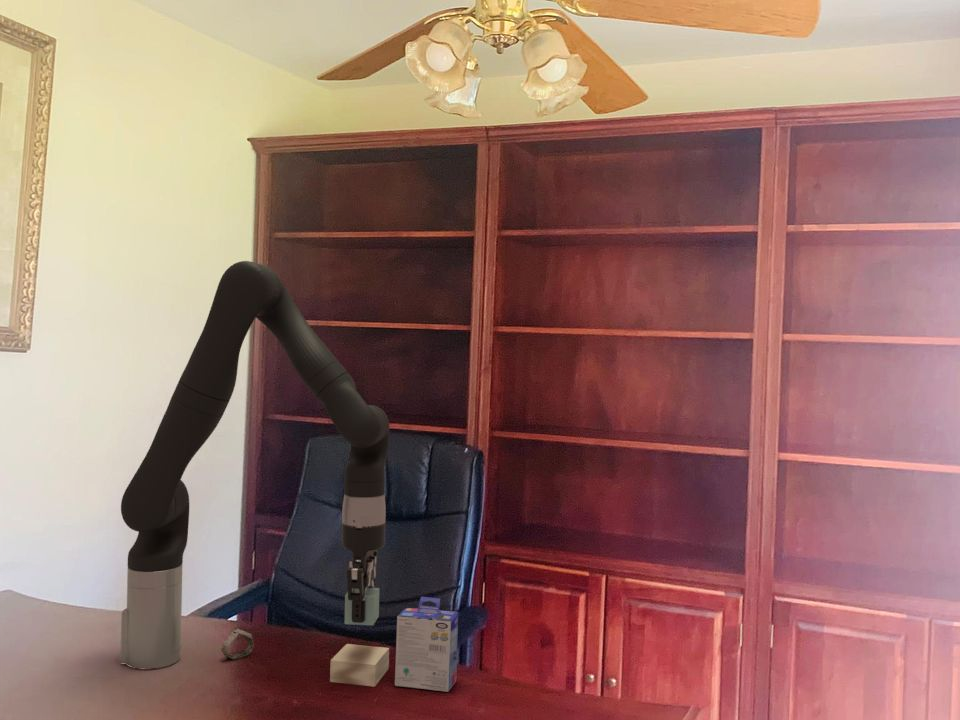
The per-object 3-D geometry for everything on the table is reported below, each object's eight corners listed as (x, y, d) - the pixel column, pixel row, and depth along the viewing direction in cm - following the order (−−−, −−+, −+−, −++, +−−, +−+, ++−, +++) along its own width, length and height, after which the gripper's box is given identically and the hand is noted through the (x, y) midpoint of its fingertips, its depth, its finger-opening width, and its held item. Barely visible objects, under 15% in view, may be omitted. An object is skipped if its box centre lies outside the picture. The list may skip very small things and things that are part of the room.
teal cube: (344, 624, 142) (345, 595, 142) (351, 614, 147) (351, 586, 147) (373, 625, 141) (373, 596, 141) (378, 616, 146) (379, 588, 146)
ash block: (329, 683, 141) (330, 660, 141) (346, 665, 149) (346, 643, 149) (374, 688, 139) (375, 664, 139) (388, 670, 147) (389, 648, 147)
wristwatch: (257, 654, 152) (257, 627, 152) (229, 664, 147) (229, 636, 147) (244, 649, 154) (245, 623, 154) (217, 659, 149) (217, 632, 149)
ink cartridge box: (457, 680, 143) (460, 597, 143) (450, 693, 138) (452, 607, 137) (403, 674, 145) (405, 592, 145) (393, 687, 140) (396, 602, 139)
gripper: (352, 511, 151) (350, 602, 151) (332, 528, 137) (330, 629, 137) (392, 512, 150) (390, 604, 151) (376, 529, 136) (374, 631, 136)
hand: (361, 616), depth 144 cm, fingers closed on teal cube, 5 cm apart
